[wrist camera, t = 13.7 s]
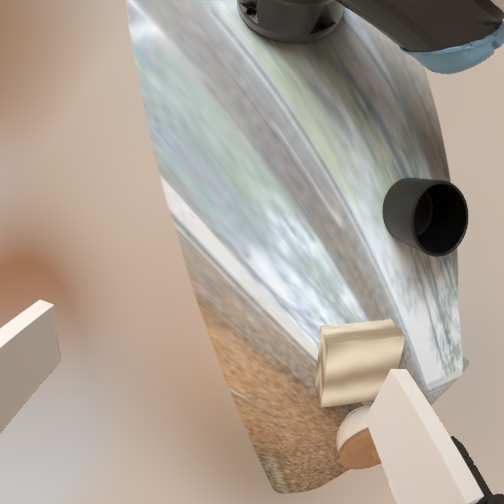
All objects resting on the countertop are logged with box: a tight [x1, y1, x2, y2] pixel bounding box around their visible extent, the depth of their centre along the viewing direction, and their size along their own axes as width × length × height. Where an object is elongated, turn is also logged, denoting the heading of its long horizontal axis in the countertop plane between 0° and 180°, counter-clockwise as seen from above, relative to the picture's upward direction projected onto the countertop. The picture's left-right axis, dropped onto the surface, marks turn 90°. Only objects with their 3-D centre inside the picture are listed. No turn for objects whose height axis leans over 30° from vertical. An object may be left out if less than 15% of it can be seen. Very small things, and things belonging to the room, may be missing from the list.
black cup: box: [383, 178, 468, 257], centre depth 35 cm, size 9×12×9 cm
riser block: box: [315, 319, 405, 407], centre depth 43 cm, size 12×12×6 cm
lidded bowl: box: [336, 406, 381, 469], centre depth 44 cm, size 13×13×11 cm
